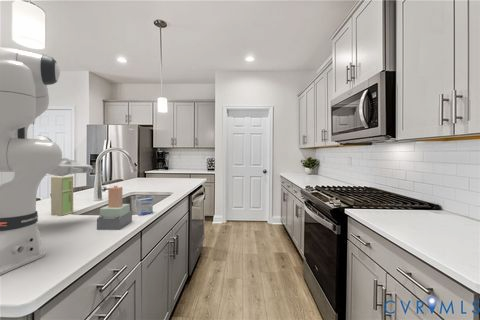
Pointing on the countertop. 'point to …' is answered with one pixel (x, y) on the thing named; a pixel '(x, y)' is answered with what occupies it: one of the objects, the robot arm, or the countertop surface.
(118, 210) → the green-topped grey pedestal
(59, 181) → the toy refrigerator
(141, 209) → the medicine box
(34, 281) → the countertop surface
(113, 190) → the orange knobbed block
